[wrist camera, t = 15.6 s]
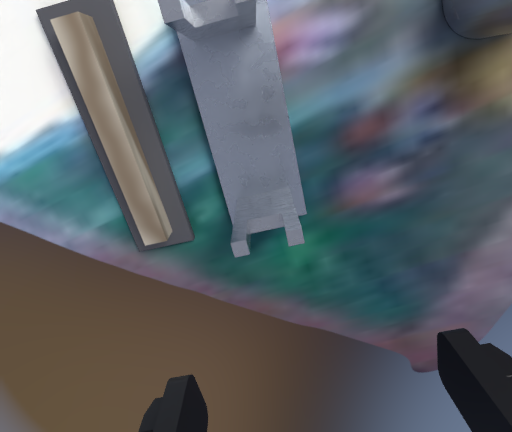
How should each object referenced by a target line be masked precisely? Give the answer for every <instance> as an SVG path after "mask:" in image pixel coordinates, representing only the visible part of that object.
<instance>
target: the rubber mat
mask: <svg viewBox="0 0 512 432" xmlns="http://www.w3.org/2000/svg"><path fill="white" fill-rule="evenodd" d="M36 12H37V14H38V17H39V19H40V21H41V24H42V26H43V28H44V31H45V33H46V35H47V38H48V40H49V42H50V45H51V47H52V49H53V52H54V54H55V56H56V59H57V61H58V63H59V66H60V68H61V70H62V73H63V75H64V77H65V79H66V82H67V84H68V86H69V89H70V91H71V93H72V96H73V98H74V100H75V103H76V105H77V107H78V110H79V112H80V114H81V117H82V119H83V121H84V124H85V126H86V128H87V131H88V133H89V135H90V138H91V140H92V142H93V145H94V147H95V149H96V152H97V154H98V156H99V159H100V161H101V163H102V166H103V168H104V170H105V172H106V175H107V177H108V179H109V182H110V184H111V186H112V189H113V191H114V193H115V196H116V198H117V200H118V203H119V205H120V207H121V210H122V212H123V214H124V217H125V219H126V221H127V224H128V226H129V228H130V231H131V233H132V235H133V238H134V240H135V242H136V245H137V247H138V249H139V252H140V251H145V250H150V249H154V248H159V247H164V246H168V245H173V244H178V243H183V242H187V241H192V240H194V238H195V236H194V233H193V230H192V227H191V224H190V222H189V219H188V216H187V213H186V210H185V207H184V204H183V201H182V198H181V196H180V193H179V190H178V187H177V184H176V181H175V178H174V175H173V172H172V170H171V167H170V164H169V161H168V158H167V155H166V152H165V149H164V146H163V144H162V141H161V138H160V135H159V132H158V129H157V126H156V123H155V120H154V118H153V115H152V112H151V109H150V106H149V103H148V100H147V97H146V94H145V92H144V89H143V86H142V83H141V80H140V77H139V74H138V71H137V68H136V65H135V63H134V60H133V57H132V54H131V51H130V48H129V45H128V42H127V39H126V37H125V34H124V31H123V28H122V25H121V22H120V19H119V16H118V13H117V11H116V8H115V5H114V2H113V0H68V1H65V2H61V3H58V4H55V5H51V6H48V7H44V8H41V9H38V10H36ZM75 12H81V13H83V14H86V15H88V16H91V17H93V20H94V23H95V25H96V28H97V31H98V33H99V36H100V39H101V41H102V44H103V47H104V49H105V52H106V55H107V57H108V60H109V63H110V65H111V68H112V71H113V73H114V76H115V79H116V81H117V84H118V87H119V89H120V92H121V95H122V97H123V100H124V103H125V105H126V108H127V111H128V113H129V116H130V119H131V121H132V124H133V127H134V129H135V132H136V135H137V137H138V140H139V143H140V145H141V148H142V151H143V153H144V156H145V159H146V161H147V164H148V167H149V169H150V172H151V175H152V177H153V180H154V183H155V185H156V188H157V191H158V193H159V196H160V199H161V201H162V204H163V207H164V209H165V212H166V215H167V217H168V220H169V223H170V225H171V228H172V233H171V235H170V236H169V238H168V240H167V241H164V242H160V243H155V244H150V245H146V246H145V244H144V242H143V240H142V237H141V235H140V232H139V230H138V228H137V225H136V223H135V221H134V218H133V216H132V213H131V211H130V209H129V206H128V204H127V202H126V199H125V197H124V194H123V192H122V190H121V187H120V185H119V183H118V180H117V178H116V175H115V173H114V171H113V168H112V166H111V164H110V161H109V159H108V156H107V154H106V152H105V149H104V147H103V144H102V142H101V140H100V137H99V135H98V133H97V130H96V128H95V125H94V123H93V121H92V118H91V116H90V114H89V111H88V109H87V106H86V104H85V102H84V99H83V97H82V95H81V92H80V90H79V87H78V85H77V83H76V80H75V78H74V76H73V73H72V71H71V68H70V66H69V64H68V61H67V59H66V57H65V54H64V52H63V49H62V47H61V45H60V42H59V40H58V38H57V35H56V33H55V30H54V28H53V26H52V23H51V21H50V20H51V19H54V18H57V17H61V16H64V15H68V14H71V13H75Z"/></svg>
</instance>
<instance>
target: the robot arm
mask: <svg viewBox="0 0 512 432" xmlns="http://www.w3.org/2000/svg"><path fill="white" fill-rule="evenodd" d="M442 2H443V12H444V15H445V18H446V21H447V22H448V24H449V25H450V27H451V28H452V29H453V30H454V31H455V32H456V33H457V34H459V35H461V36H463V37H466V38H470V39H482V38H487V37H493V36H498V35H504V34H510V33H512V0H442ZM437 356H438V371H439V375H440V378H441V380H442V383H443V385H444V387H445V389H446V390H447V392H448V393H449V395H450V397H451V398H452V400H453V402H454V403H455V405H456V407H457V408H458V410H459V411H460V413H461V415H462V416H463V418H464V419H465V421H466V423H467V424H468V426H469V428H470V429H471V431H472V432H512V358H511V356H510V355H508V354H506V353H505V352H503V351H502V350H500V349H499V348H497V347H495V346H493V345H492V344H491V343H487V344H482V345H480V344H479V343H478V342H477V341H476V339H475V338H474V337H473V336H472V335H471V333H470V332H469V331H468V330H466V329H464V328H461V329H456V330H450V331H444V332H439V333H438V335H437ZM207 426H208V413H207V406H206V403H205V401H204V398H203V396H202V394H201V391H200V389H199V387H198V384H197V382H196V380H195V377H194V376H193V375H186V376H181V377H175V378H170V379H169V380H168V382H167V385H166V389H165V392H164V395H163V397H161V398H156V399H155V400H154V401H153V402H152V404H151V406H150V407H149V408H148V410H147V411H146V413H145V414H144V417H143V420H142V423H141V426H140V429H139V432H207Z"/></svg>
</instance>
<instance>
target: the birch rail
mask: <svg viewBox="0 0 512 432" xmlns="http://www.w3.org/2000/svg"><path fill="white" fill-rule="evenodd" d="M50 21H51V23H52V26H53V28H54V30H55V33H56V35H57V38H58V40H59V42H60V45H61V47H62V49H63V52H64V54H65V57H66V59H67V61H68V64H69V66H70V68H71V71H72V73H73V76H74V78H75V80H76V83H77V85H78V87H79V90H80V92H81V95H82V97H83V99H84V102H85V104H86V106H87V109H88V111H89V114H90V116H91V118H92V121H93V123H94V125H95V128H96V130H97V133H98V135H99V137H100V140H101V142H102V144H103V147H104V149H105V152H106V154H107V156H108V159H109V161H110V164H111V166H112V168H113V171H114V173H115V175H116V178H117V180H118V183H119V185H120V187H121V190H122V192H123V194H124V197H125V199H126V202H127V204H128V206H129V209H130V211H131V213H132V216H133V218H134V221H135V223H136V225H137V228H138V230H139V232H140V235H141V237H142V240H143V242H144V244H145V246H146V245H150V244H155V243H160V242H164V241H167V240H168V238H169V236H170V235H171V233H172V228H171V225H170V223H169V220H168V217H167V215H166V212H165V209H164V207H163V204H162V201H161V199H160V196H159V193H158V191H157V188H156V185H155V183H154V180H153V177H152V175H151V172H150V169H149V167H148V164H147V161H146V159H145V156H144V153H143V151H142V148H141V145H140V143H139V140H138V137H137V135H136V132H135V129H134V127H133V124H132V121H131V119H130V116H129V113H128V111H127V108H126V105H125V103H124V100H123V97H122V95H121V92H120V89H119V87H118V84H117V81H116V79H115V76H114V73H113V71H112V68H111V65H110V63H109V60H108V57H107V55H106V52H105V49H104V47H103V44H102V41H101V39H100V36H99V33H98V31H97V28H96V25H95V23H94V20H93V17H91V16H88V15H86V14H83V13H81V12H75V13H71V14H68V15H64V16H61V17H57V18H54V19H51V20H50Z"/></svg>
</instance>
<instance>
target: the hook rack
mask: <svg viewBox="0 0 512 432" xmlns="http://www.w3.org/2000/svg"><path fill="white" fill-rule="evenodd" d="M158 3H159V6H160V9H161V13H162V16H163V19H164V23H165V24H166V25H168V26H170V27H171V28H173V29H174V30H176V31H177V34H178V38H179V41H180V45H181V48H182V52H183V55H184V59H185V62H186V65H187V69H188V72H189V76H190V79H191V83H192V86H193V90H194V93H195V97H196V100H197V103H198V107H199V110H200V114H201V117H202V121H203V124H204V128H205V131H206V135H207V138H208V141H209V145H210V148H211V152H212V155H213V159H214V162H215V166H216V169H217V173H218V176H219V179H220V183H221V186H222V190H223V193H224V197H225V200H226V204H227V207H228V211H229V214H230V217H231V221H232V224H233V230H232V237H231V246H232V250H233V253H234V256H235V257H240V256H244V255H249V254H250V239H251V233H256V232H261V231H265V230H270V229H275V228H279V227H284V226H285V230H286V235H287V240H288V244H289V246H293V245H298V244H303V243H305V242H304V237H303V232H302V228H301V224H300V221H299V218H298V216H300V215H305V214H307V213H306V207H305V202H304V197H303V191H302V186H301V180H300V175H299V170H298V164H297V159H296V154H295V148H294V143H293V138H292V132H291V127H290V122H289V116H288V111H287V106H286V100H285V95H284V90H283V84H282V79H281V74H280V68H279V63H278V58H277V52H276V47H275V42H274V36H273V31H272V26H271V20H270V15H269V9H268V4H267V0H158Z"/></svg>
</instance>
